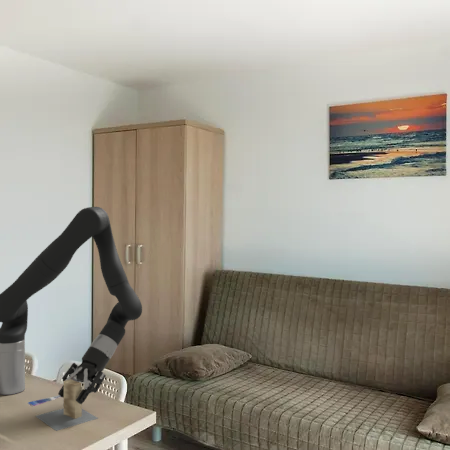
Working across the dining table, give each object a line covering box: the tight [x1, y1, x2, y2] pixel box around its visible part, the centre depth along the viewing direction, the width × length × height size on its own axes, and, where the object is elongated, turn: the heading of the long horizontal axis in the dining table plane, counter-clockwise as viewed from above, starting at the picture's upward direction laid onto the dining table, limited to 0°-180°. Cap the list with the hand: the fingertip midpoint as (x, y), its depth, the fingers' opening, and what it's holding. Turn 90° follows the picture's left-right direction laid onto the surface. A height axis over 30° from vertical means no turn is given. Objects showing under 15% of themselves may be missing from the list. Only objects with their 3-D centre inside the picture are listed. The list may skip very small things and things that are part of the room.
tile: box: [63, 379, 83, 419], centre depth 155 cm, size 6×2×10 cm, turn 53°
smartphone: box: [27, 395, 62, 407], centre depth 167 cm, size 7×1×15 cm
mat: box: [35, 407, 99, 432], centre depth 154 cm, size 14×13×1 cm
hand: (69, 399), depth 154 cm, fingers open, 8 cm apart
